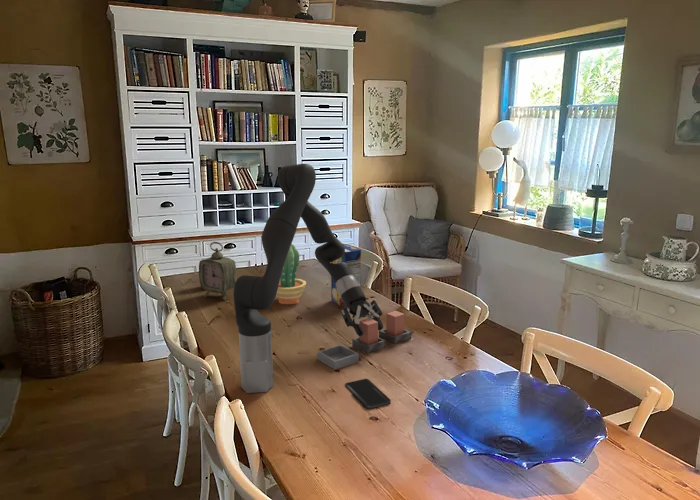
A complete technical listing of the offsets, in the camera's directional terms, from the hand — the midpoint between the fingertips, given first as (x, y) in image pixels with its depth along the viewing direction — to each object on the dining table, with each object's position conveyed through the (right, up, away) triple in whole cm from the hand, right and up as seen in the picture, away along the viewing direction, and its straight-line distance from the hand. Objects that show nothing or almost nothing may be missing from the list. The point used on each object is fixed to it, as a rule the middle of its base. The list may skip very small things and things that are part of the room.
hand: (371, 332), depth 177 cm
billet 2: (+9, -4, +10) cm, 13 cm away
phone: (-2, -14, -26) cm, 30 cm away
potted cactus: (-34, +5, +53) cm, 63 cm away
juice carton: (-9, +5, +51) cm, 52 cm away
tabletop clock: (-65, +6, +58) cm, 87 cm away
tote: (-11, -9, -5) cm, 15 cm away
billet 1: (-1, -5, +2) cm, 6 cm away
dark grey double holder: (+4, -6, +6) cm, 9 cm away
